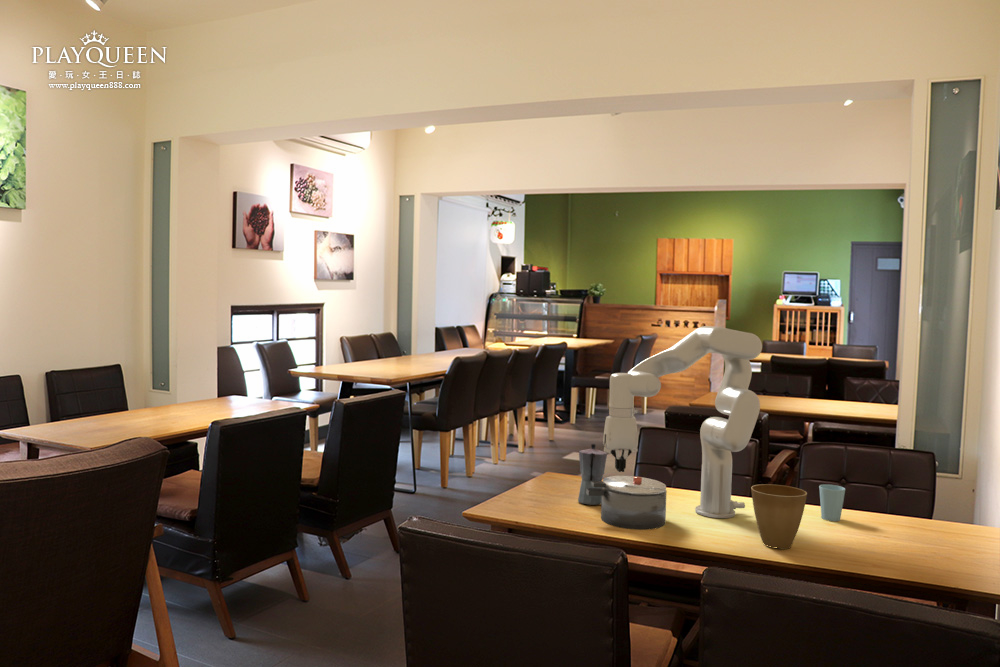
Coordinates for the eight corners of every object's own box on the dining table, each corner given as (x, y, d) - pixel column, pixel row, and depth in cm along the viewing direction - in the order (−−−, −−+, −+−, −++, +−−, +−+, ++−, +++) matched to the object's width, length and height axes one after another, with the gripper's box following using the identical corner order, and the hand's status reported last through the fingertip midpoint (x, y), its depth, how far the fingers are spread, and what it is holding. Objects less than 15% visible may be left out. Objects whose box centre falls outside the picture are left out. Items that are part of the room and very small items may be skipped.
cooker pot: (652, 510, 240) (653, 480, 240) (675, 529, 220) (676, 496, 220) (578, 511, 236) (579, 481, 236) (595, 530, 217) (596, 497, 216)
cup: (830, 523, 231) (831, 490, 231) (812, 516, 238) (813, 485, 238) (849, 521, 233) (850, 489, 233) (831, 515, 241) (832, 483, 240)
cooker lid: (653, 480, 239) (653, 471, 239) (675, 495, 220) (676, 485, 220) (584, 478, 236) (585, 469, 236) (601, 494, 217) (601, 483, 217)
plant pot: (816, 549, 205) (818, 493, 204) (780, 557, 197) (782, 498, 197) (772, 534, 218) (775, 481, 217) (737, 541, 210) (740, 486, 210)
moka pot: (604, 497, 255) (606, 441, 254) (606, 510, 239) (608, 449, 238) (577, 496, 255) (579, 440, 255) (577, 508, 240) (579, 448, 239)
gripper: (640, 410, 231) (639, 467, 232) (594, 411, 229) (593, 468, 230) (648, 414, 224) (647, 473, 225) (601, 414, 222) (600, 474, 223)
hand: (620, 470), depth 227 cm, fingers closed
